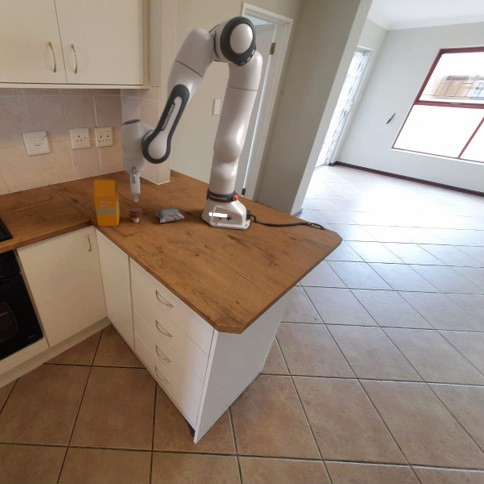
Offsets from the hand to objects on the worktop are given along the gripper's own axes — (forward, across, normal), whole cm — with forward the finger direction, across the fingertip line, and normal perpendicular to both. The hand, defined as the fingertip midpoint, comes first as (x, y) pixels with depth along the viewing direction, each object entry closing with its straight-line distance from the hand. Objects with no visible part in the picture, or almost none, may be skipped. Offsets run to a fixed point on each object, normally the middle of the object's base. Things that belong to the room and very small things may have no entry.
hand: (136, 196), depth 108 cm
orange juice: (+12, 0, +13) cm, 18 cm away
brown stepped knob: (+12, 0, +1) cm, 12 cm away
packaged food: (+13, 0, -15) cm, 20 cm away
